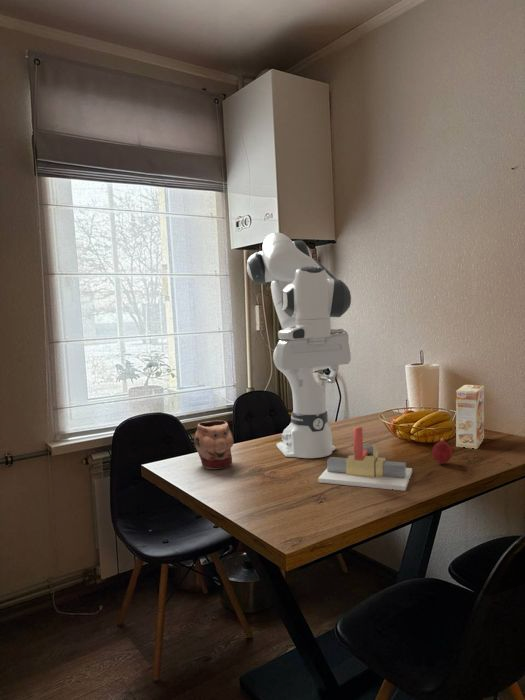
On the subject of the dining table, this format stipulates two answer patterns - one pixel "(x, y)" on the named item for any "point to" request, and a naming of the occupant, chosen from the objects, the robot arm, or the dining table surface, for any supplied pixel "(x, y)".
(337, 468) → the valve and pipe
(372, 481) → the mounting board
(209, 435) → the decorative planter
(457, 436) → the coffeecake box
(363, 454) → the lever
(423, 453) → the dining table surface
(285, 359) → the robot arm
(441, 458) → the onion
